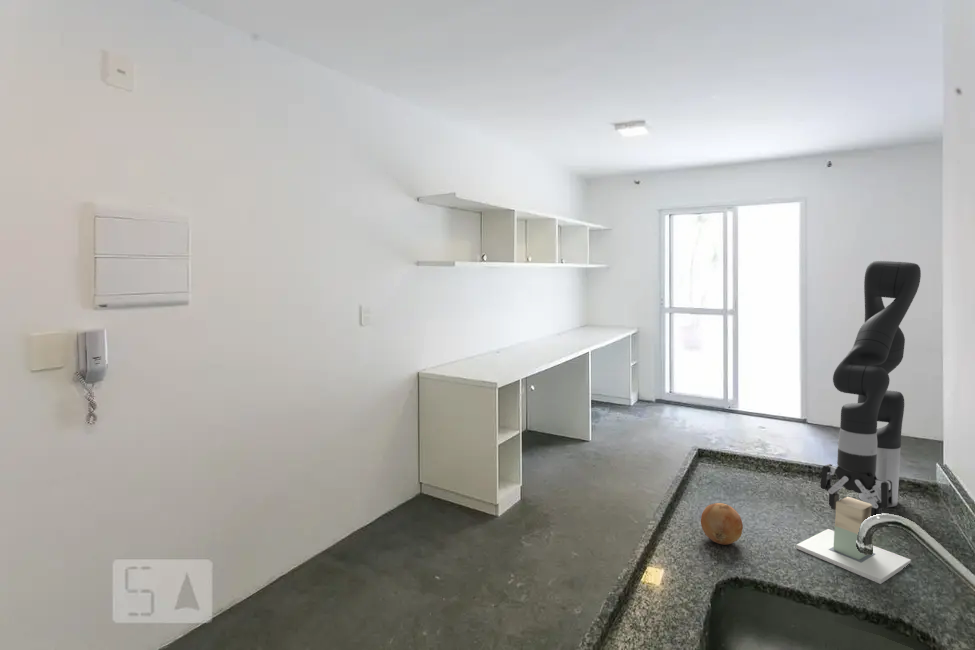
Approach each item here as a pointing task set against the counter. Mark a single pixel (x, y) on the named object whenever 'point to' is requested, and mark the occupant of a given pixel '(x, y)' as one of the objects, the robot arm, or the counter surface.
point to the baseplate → (869, 566)
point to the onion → (721, 523)
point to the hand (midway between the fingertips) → (853, 515)
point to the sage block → (846, 543)
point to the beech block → (851, 513)
